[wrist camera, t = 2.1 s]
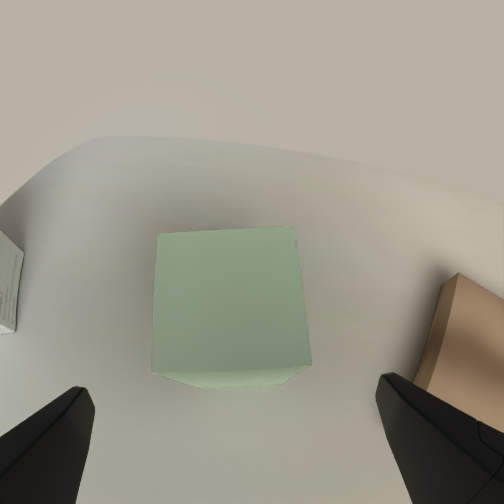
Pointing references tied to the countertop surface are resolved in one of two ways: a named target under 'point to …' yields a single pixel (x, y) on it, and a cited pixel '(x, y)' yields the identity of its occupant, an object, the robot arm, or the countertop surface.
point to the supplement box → (9, 282)
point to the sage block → (229, 308)
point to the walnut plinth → (466, 351)
